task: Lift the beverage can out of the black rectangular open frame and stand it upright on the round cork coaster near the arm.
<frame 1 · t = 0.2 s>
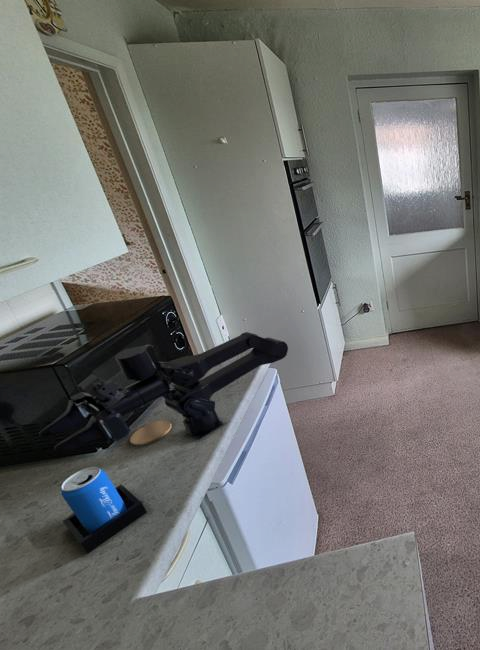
hand: (47, 442, 76), 17 cm above the worktop, tool horizontal, fingers open, 9 cm apart
coaster: (151, 433, 102), on the worktop
black rectangular open frame: (109, 521, 77), on the worktop
beverage can: (109, 522, 77), resting in black rectangular open frame
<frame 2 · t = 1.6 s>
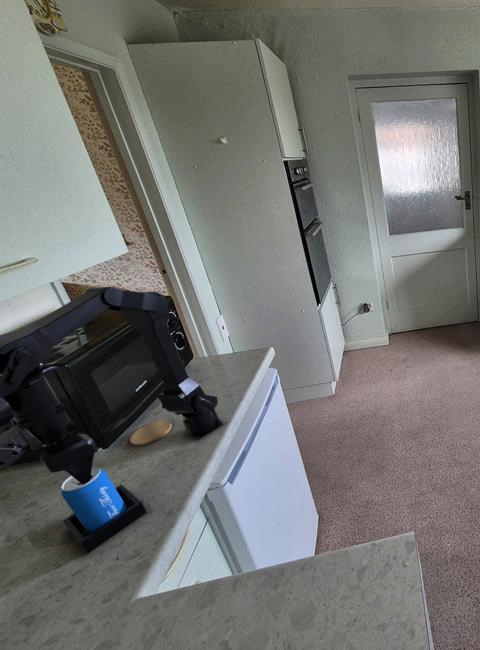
hand: (77, 473, 72), 13 cm above the worktop, tool pointing down, fingers open, 9 cm apart
nothing on the worktop moved.
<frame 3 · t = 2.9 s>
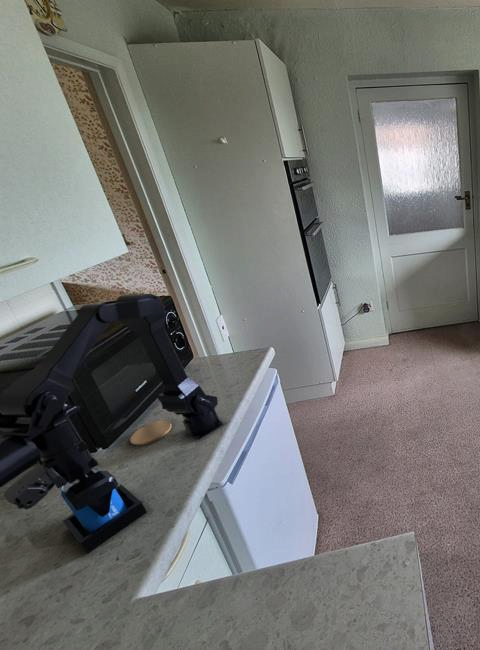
hand: (97, 506, 75), 5 cm above the worktop, tool pointing down, fingers closed on beverage can, 7 cm apart
beverage can: (109, 522, 77), resting in black rectangular open frame, touching gripper
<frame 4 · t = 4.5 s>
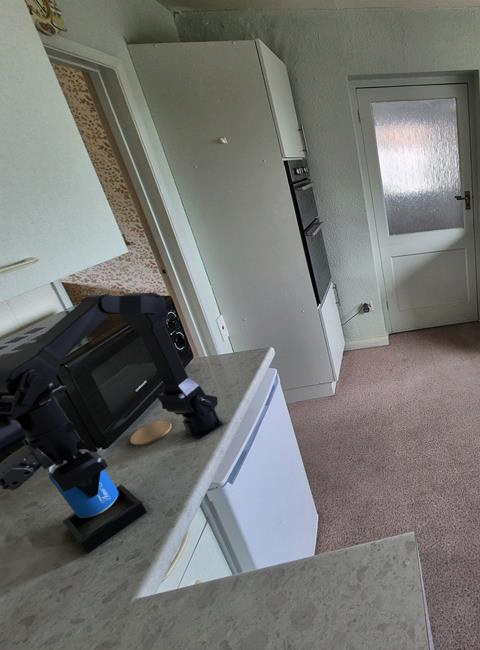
hand: (87, 489, 74), 9 cm above the worktop, tool pointing down, fingers closed on beverage can, 6 cm apart
beverage can: (100, 506, 76), point 4 cm above the worktop, touching gripper
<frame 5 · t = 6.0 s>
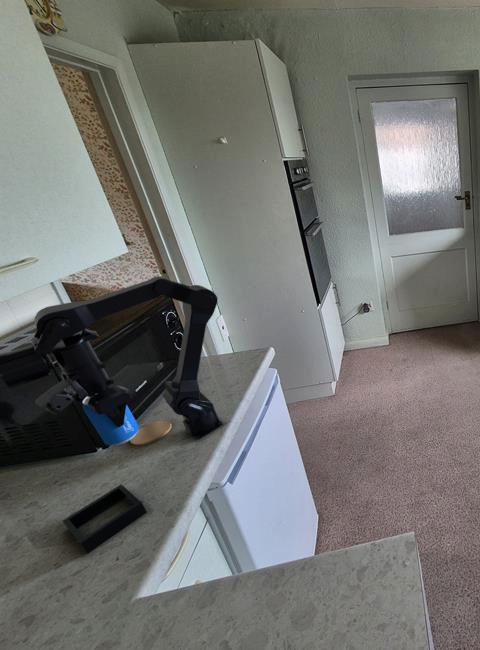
hand: (114, 421, 87), 13 cm above the worktop, tool pointing down, fingers closed on beverage can, 6 cm apart
beverage can: (124, 437, 89), point 8 cm above the worktop, touching gripper
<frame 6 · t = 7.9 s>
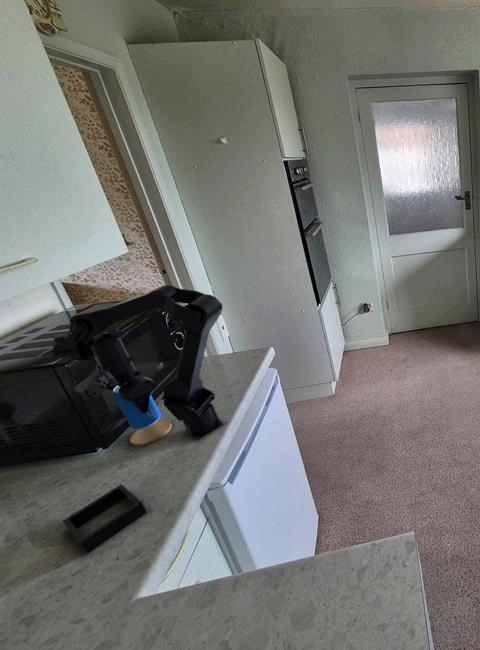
hand: (139, 408, 98), 8 cm above the worktop, tool pointing down, fingers closed on beverage can, 6 cm apart
beverage can: (147, 423, 101), point 3 cm above the worktop, touching gripper
when the fingers open (5 cm above the worktop, at t = 9.2 s): beverage can stays where it is, resting on coaster.
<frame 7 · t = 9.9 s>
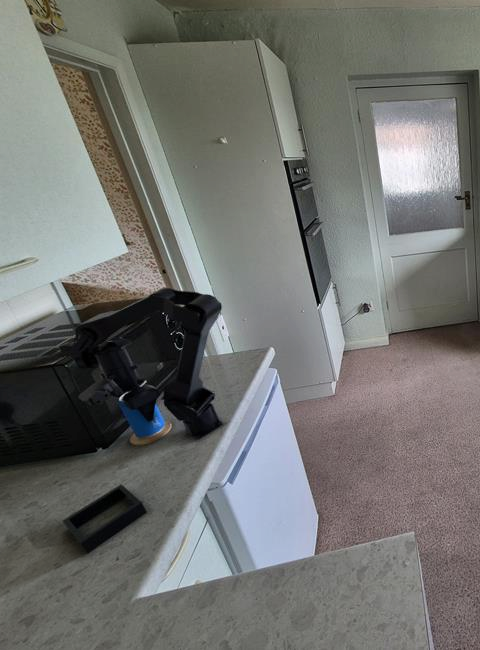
hand: (142, 415, 99), 6 cm above the worktop, tool pointing down, fingers open, 9 cm apart
beverage can: (152, 431, 102), resting on coaster
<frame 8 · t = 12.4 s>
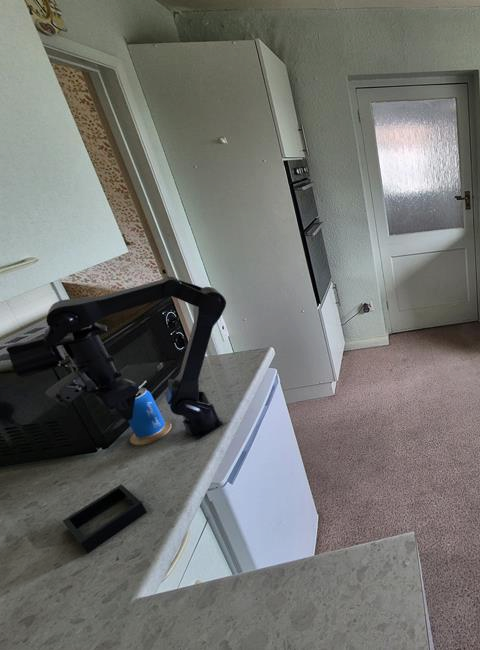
hand: (121, 414, 89), 13 cm above the worktop, tool pointing down, fingers open, 9 cm apart
nothing on the worktop moved.
at the end: beverage can inside the target area on the coaster (0.2 cm from its centre), point 0.4 cm above the coaster's base; beverage can tilted 0°; the gripper is holding nothing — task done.
